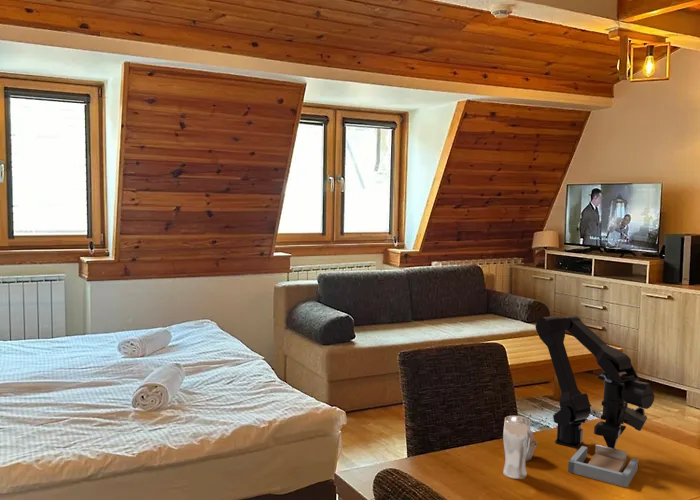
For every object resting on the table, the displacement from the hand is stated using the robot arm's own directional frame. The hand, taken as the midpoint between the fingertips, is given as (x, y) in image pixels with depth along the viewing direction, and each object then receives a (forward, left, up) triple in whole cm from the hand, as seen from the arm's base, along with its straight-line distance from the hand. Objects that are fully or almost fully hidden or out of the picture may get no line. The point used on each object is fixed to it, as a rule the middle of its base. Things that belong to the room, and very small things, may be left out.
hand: (611, 451), depth 178 cm
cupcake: (-22, -14, -3) cm, 26 cm away
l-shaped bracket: (0, -6, -3) cm, 6 cm away
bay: (0, -8, -3) cm, 9 cm away
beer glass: (-19, -26, -3) cm, 32 cm away
